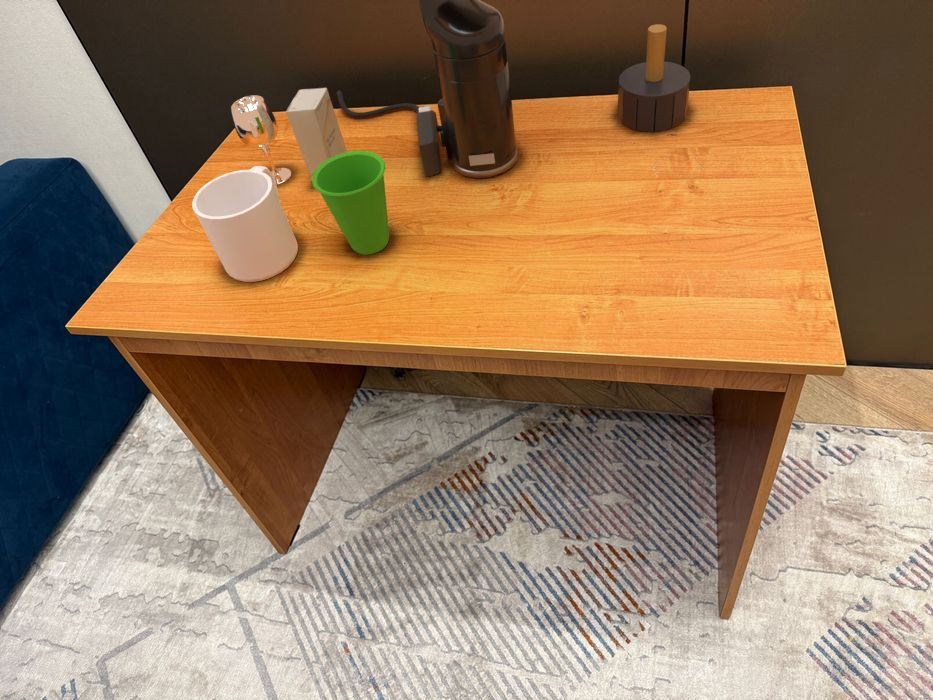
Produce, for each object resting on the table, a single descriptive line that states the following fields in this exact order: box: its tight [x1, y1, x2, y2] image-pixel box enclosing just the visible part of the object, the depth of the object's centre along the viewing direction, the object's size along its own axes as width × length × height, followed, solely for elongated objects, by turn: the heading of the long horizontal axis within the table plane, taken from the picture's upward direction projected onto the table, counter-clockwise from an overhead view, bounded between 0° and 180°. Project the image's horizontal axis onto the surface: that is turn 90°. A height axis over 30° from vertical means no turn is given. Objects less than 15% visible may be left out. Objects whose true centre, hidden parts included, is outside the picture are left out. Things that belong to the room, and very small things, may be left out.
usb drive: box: [416, 105, 442, 178], centre depth 102 cm, size 5×12×3 cm
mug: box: [191, 165, 299, 283], centre depth 90 cm, size 13×10×10 cm
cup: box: [311, 150, 390, 256], centre depth 87 cm, size 9×9×11 cm
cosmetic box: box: [285, 87, 348, 181], centre depth 99 cm, size 6×4×12 cm
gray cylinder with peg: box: [617, 23, 691, 133], centre depth 97 cm, size 10×10×13 cm
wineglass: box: [230, 94, 292, 186], centre depth 101 cm, size 6×6×12 cm
